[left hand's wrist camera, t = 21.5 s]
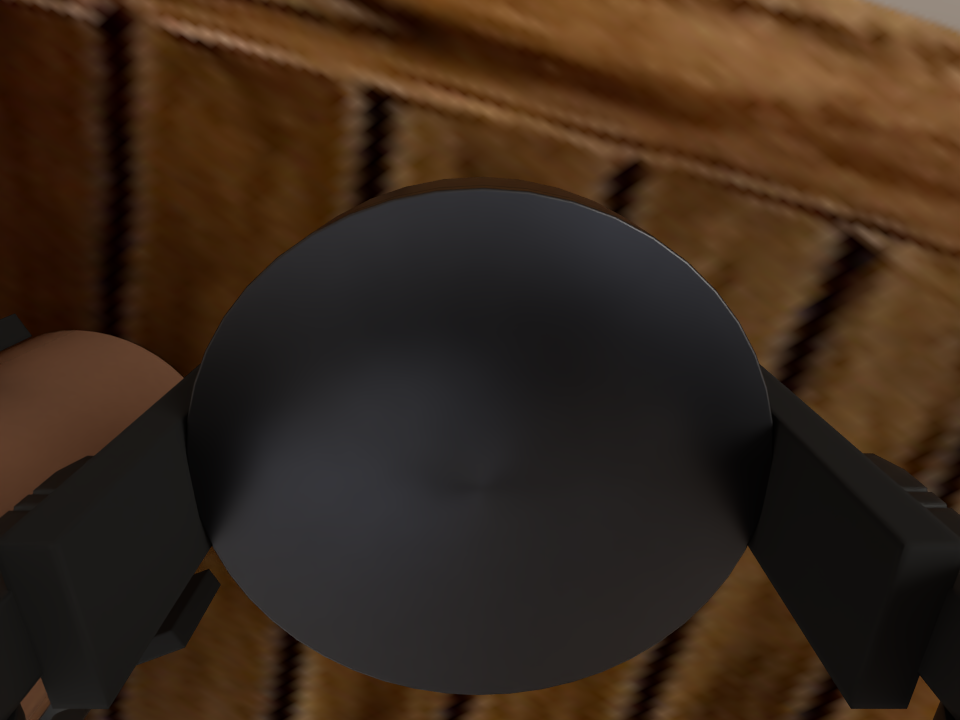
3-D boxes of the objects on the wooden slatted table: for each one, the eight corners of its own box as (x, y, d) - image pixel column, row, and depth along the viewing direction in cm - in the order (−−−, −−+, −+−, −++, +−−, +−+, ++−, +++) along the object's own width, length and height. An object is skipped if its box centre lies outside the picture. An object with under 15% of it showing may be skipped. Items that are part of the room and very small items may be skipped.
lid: (402, 680, 15) (392, 756, 13) (120, 347, 11) (56, 388, 10) (799, 513, 13) (848, 574, 11) (599, 57, 9) (625, 42, 8)
